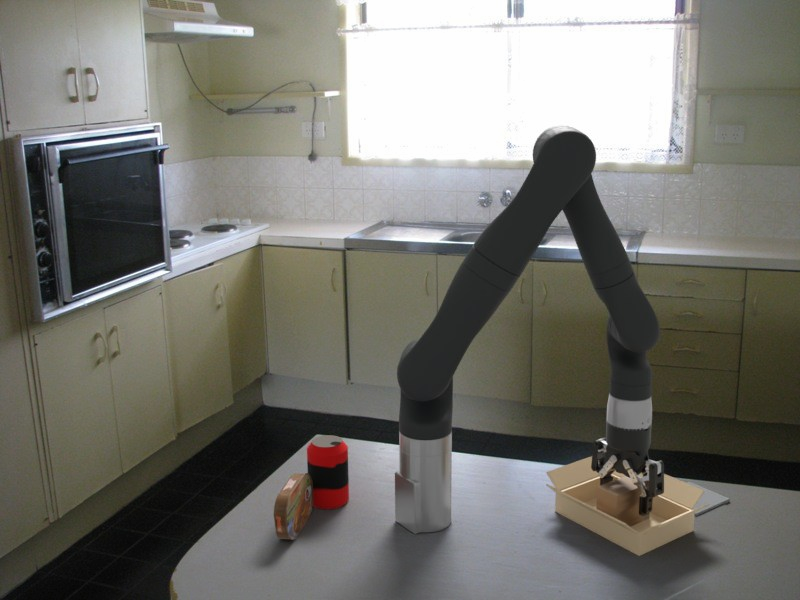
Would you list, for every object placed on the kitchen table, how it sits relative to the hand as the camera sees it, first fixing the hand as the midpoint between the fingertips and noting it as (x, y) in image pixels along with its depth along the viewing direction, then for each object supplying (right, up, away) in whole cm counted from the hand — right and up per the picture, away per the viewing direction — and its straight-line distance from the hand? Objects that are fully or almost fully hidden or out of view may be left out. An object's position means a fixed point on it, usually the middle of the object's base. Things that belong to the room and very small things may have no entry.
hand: (625, 505), depth 153 cm
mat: (+15, -1, +9) cm, 17 cm away
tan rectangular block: (0, -3, +1) cm, 3 cm away
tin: (-58, -4, 0) cm, 59 cm away
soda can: (-53, -2, +10) cm, 54 cm away
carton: (0, -3, +1) cm, 3 cm away
